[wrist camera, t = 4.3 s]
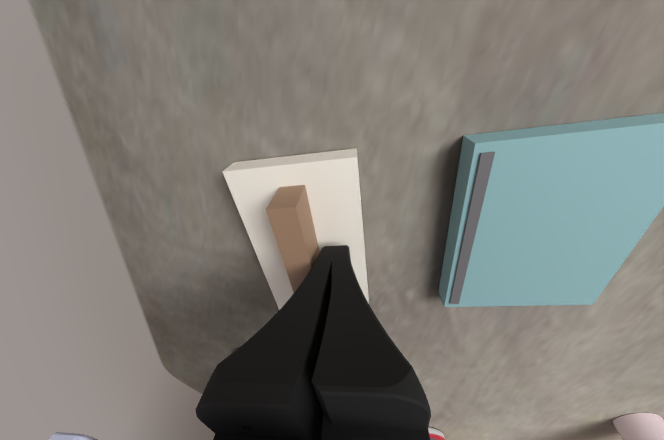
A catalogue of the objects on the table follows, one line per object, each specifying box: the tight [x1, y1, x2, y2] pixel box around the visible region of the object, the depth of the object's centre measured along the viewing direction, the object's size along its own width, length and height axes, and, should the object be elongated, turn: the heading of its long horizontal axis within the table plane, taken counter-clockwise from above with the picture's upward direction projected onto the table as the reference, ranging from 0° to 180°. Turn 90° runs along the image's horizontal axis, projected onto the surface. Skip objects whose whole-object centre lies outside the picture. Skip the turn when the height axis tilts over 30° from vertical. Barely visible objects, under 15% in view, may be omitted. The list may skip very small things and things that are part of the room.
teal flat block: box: [439, 113, 664, 307], centre depth 12 cm, size 10×8×1 cm
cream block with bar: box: [223, 148, 369, 310], centre depth 12 cm, size 10×6×3 cm, turn 8°
